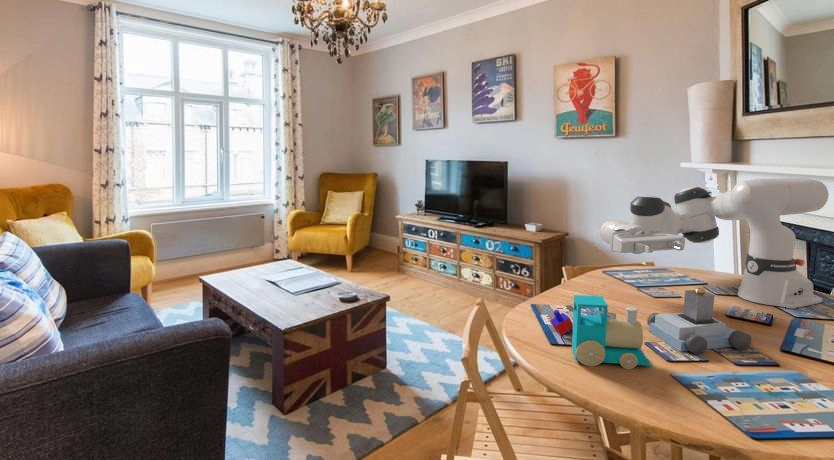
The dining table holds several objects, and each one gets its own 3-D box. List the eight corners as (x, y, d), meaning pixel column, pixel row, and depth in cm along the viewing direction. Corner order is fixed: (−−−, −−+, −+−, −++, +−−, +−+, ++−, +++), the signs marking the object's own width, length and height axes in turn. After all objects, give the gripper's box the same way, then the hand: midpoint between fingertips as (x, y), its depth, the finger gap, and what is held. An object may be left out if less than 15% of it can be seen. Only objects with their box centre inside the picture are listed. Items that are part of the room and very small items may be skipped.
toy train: (652, 371, 98) (657, 309, 95) (575, 365, 102) (578, 305, 99) (642, 355, 106) (646, 296, 103) (571, 350, 109) (573, 293, 106)
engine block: (697, 325, 116) (701, 286, 113) (710, 332, 111) (714, 291, 109) (681, 326, 115) (685, 287, 113) (694, 333, 111) (698, 292, 109)
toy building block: (557, 335, 121) (546, 312, 119) (570, 327, 122) (558, 304, 120) (563, 340, 118) (552, 317, 116) (576, 332, 118) (565, 309, 116)
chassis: (702, 323, 123) (704, 305, 121) (753, 349, 107) (755, 328, 106) (644, 328, 120) (645, 309, 119) (686, 355, 105) (688, 334, 104)
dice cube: (593, 333, 118) (593, 316, 117) (596, 326, 123) (596, 310, 122) (612, 337, 116) (613, 319, 115) (615, 330, 120) (616, 313, 119)
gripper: (665, 247, 136) (699, 257, 123) (605, 251, 134) (632, 262, 121) (666, 227, 135) (700, 235, 122) (605, 231, 133) (633, 240, 119)
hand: (666, 248), depth 121 cm, fingers open, 8 cm apart
